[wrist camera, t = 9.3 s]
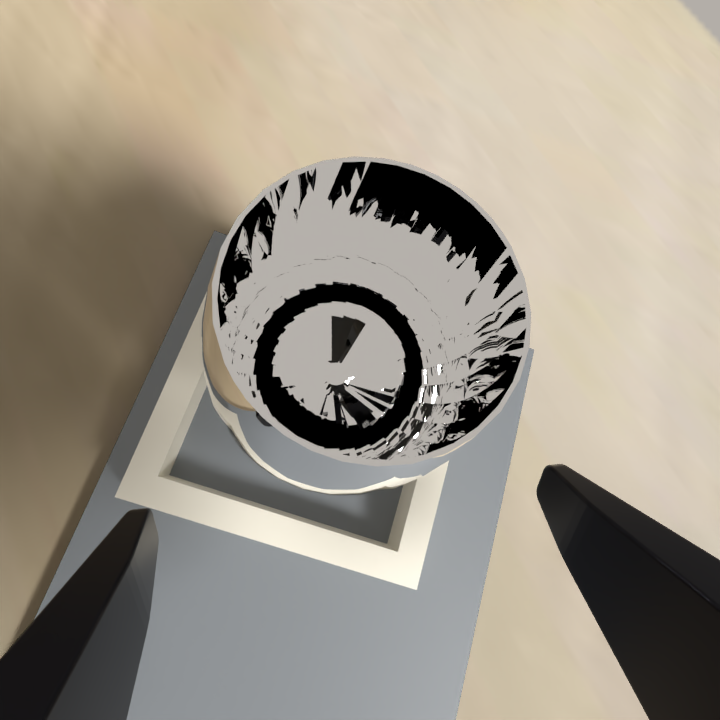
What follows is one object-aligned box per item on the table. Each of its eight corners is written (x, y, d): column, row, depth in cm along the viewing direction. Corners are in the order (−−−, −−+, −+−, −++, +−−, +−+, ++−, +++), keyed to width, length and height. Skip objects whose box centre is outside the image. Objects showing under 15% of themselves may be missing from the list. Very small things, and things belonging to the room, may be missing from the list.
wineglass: (218, 370, 17) (99, 188, 6) (348, 316, 19) (455, 86, 7) (277, 507, 17) (274, 602, 5) (408, 440, 18) (633, 398, 7)
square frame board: (527, 352, 21) (555, 340, 19) (420, 844, 16) (442, 905, 13) (216, 237, 19) (208, 209, 17) (-14, 736, 14) (-65, 784, 12)
